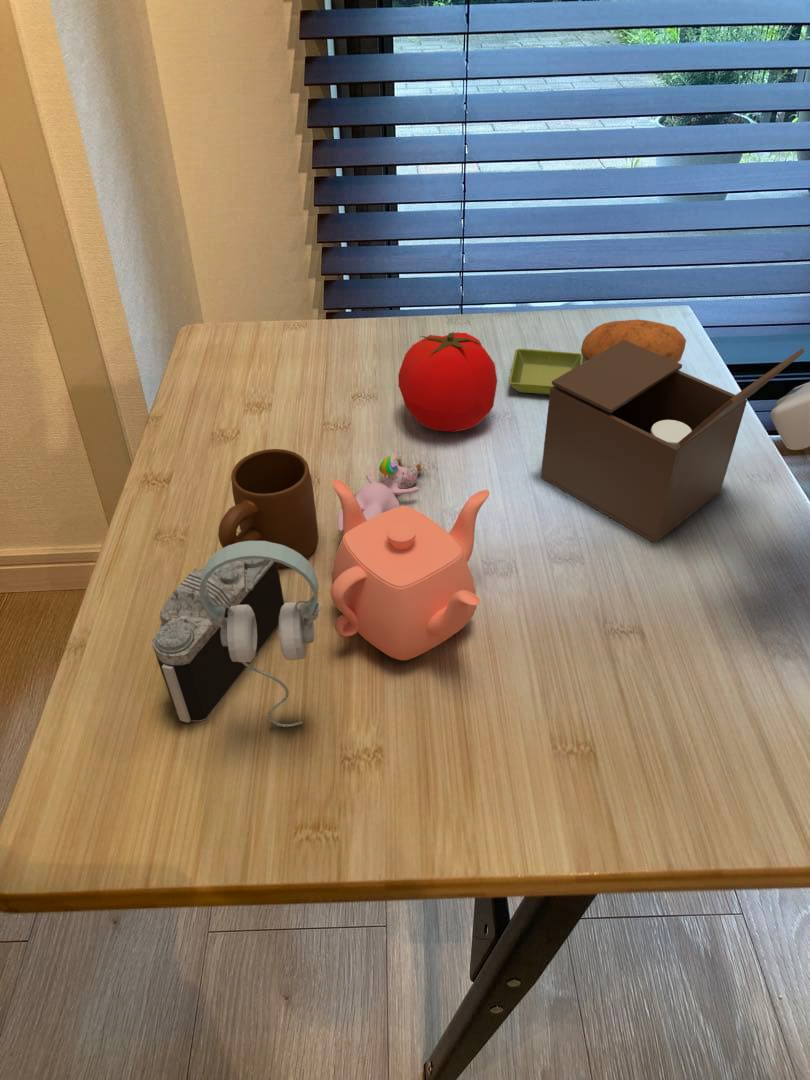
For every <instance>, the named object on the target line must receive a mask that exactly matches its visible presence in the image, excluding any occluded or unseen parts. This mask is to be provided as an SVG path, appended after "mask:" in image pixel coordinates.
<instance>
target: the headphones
mask: <svg viewBox="0 0 810 1080" xmlns="http://www.w3.org/2000/svg"><path fill="white" fill-rule="evenodd" d="M253 558H254V559H266V560H270V561H274V562H279V563H282V564H284V565H286V567H288V568H291V569H292V570H294V571H295V572H296V573H298V574H299V575H301V576H302V577H303V578H304V580H305V581H306V582H307V583H308V585H309V587H310V589H311V592H312V593H313V595H312V596H311V598H310V599H309V600H308V601H307V600H299V601H297V602H295V601H294V602H293V601H292V602H284V605H283V606H282V607H281V610H280V615H279V626H278V638H279V639H278V640H279V646H280V650H281V653H282V656H283V658H284V659H285V660H286V661H298V660H305V659H306V657H307V651H308V649H307V648H308V644H311V643H314V642H315V624H314V623H315V622H314V621H316V619H317V618H318V617H319V613H320V611H321V609H322V603H321V602H318V597H319V579H318V576H317V574H316V571H315V569H314V567H313V566H312V564H311V563H310V561H309V560H308V559H307V558H306V559H305V558H304V557H303V556H302V555H301V554H299V553H298V552H296V551H294V550H293V549H290V548H288V547H286V546H284V545H280V544H276V543H272V542H267V541H244V542H238V543H235V544H232V545H228V546H226V547H224V548H223V547H222V548H220V549H219V550H217V551H216V552H215V553H213V554H212V555H211V557H210V558H208V560H207V561H206V563H205V565H204V568H203V569H204V570H203V573H202V578H201V583H200V588H199V595H200V600H201V602H202V604H203V606H204V608H205V610H204V611H205V615H206V616H207V617H208V618H209V619H210V622H212V623H213V624H214V625H218V626H220V627H221V631H220V633H221V643H222V645H223V646H228V649H229V654H230V658H231V660H232V661H233V662H242V663H243V664H244V665H245V666H246V667H247V668H248V669H249V670H252V671H253V672H256V673H258V674H260V675H263V676H265V677H268V678H270V679H271V680H273V681H274V682H276V683H278V684H279V685H280V686H281V687H282V688H283V689H284V691H285V696H284V697H283V698H282V699H281V700H280V701H279V702H278V703H276V704H275V705H274V706H273V707H271V708H270V709H269V711H268V713H267V715H268V717H267V718H268V719H269V721H270V722H272V724H274V725H276V726H277V727H282V728H289V727H296V726H300V725H302V724H303V720H302V721H298V722H294V723H286V724H285V723H280V722H277V721H275V719H273V718H272V712H274V710H275V709H277V708H278V707H280V706H281V705H282V704H283V703H285V702H286V701H287V699H288V697H289V693H290V692H289V689H288V687H287V686H286V685H285V684H284V682H283V681H282V680H280V679H278V678H277V677H276V676H273V675H272V674H270V673H268V672H265V671H264V670H261V669H259V668H256V667H254V666H252V665H250V664H249V665H248V664H247V663H246V662H250V663H251V662H252V661H253V660H254V659H255V657H256V656H255V654H256V648H257V624H256V619H255V615H254V612H253V610H252V608H251V607H250V606H249V605H237V606H231V607H229V606H228V605H226V604H220V605H216V604H215V603H214V601H213V600H212V599H211V598H210V596H209V594H208V591H207V581H208V578H209V577H210V576H211V575H212V573H213V572H214V571H215V570H216V569H218V568H220V567H221V566H223V565H225V564H227V563H231V562H234V561H237V560H242V559H253ZM220 606H222V607H220ZM223 606H225V607H227V608H228V609H229V612H228V619H227V618H224V615H225V610H226V608H225V607H223ZM209 614H210V615H211V616H210V615H209ZM221 622H223V623H222V624H221ZM254 656H255V657H254ZM253 658H254V659H253Z"/></svg>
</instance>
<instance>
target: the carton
mask: <svg viewBox="0 0 810 1080" xmlns="http://www.w3.org/2000/svg"><path fill="white" fill-rule="evenodd" d="M682 368H683V364H682V363H679V362H678V363H677V362H675V361H672V360H670V359H668V358H665V357H663V356H661V355H658V354H656V353H654V352H651V351H649V350H647V349H644V348H642V347H640V346H637V345H635V344H633V343H630V342H628V341H626V340H623V341H621V342H619V343H617V344H616V345H614V346H612V347H610V348H609V349H607V350H605V351H603V352H602V353H600V354H598V355H596V356H595V357H593V358H591V359H590V360H586V361H583V362H582V364H581V365H579V366H577V367H576V368H574V369H572V370H570V371H569V372H567V373H565V374H563V375H562V376H560V377H558V378H557V379H555V380H553V381H552V385H554V386H553V387H551V388H550V395H549V396H548V407H547V416H546V423H545V436H544V443H543V453H542V463H541V470H540V471H541V472H540V478H541V479H543V480H544V481H546V482H548V483H549V484H551V485H553V486H554V487H556V488H558V489H560V490H561V491H563V492H565V493H567V494H568V495H571V496H572V497H574V498H576V499H577V500H579V501H581V502H583V503H584V504H586V505H588V506H589V507H591V508H593V509H595V510H596V511H598V512H600V513H602V514H603V515H605V516H607V517H608V518H609V519H612V520H614V521H616V522H617V523H619V524H620V525H622V526H625V527H626V528H628V529H630V530H631V531H633V532H634V533H637V534H638V535H640V536H642V537H644V538H645V539H647V540H648V541H650V542H652V543H654V544H656V543H657V542H659V541H660V540H661V539H662V538H664V537H665V536H666V535H667V534H668V533H670V532H671V531H673V530H674V529H675V528H676V527H678V526H679V525H680V524H681V523H682V522H684V521H685V520H686V519H688V518H689V517H690V516H691V515H692V514H694V513H695V512H696V511H698V510H699V509H700V508H701V507H703V506H704V505H705V504H707V503H708V502H709V501H710V500H711V499H713V498H714V497H715V496H716V495H718V494H719V493H720V492H721V491H722V488H723V484H724V481H725V477H726V474H727V471H728V467H729V464H730V461H731V457H732V453H733V450H734V447H735V444H736V440H737V436H738V433H739V430H740V426H741V423H742V419H743V416H744V413H745V410H746V406H747V403H748V399H746V400H744V401H743V402H742V403H740V404H739V405H737V406H736V407H735V408H733V409H732V410H730V411H729V412H728V413H726V414H725V415H723V416H722V417H721V418H719V419H718V420H716V421H715V422H714V423H712V424H711V425H709V426H708V427H707V428H705V429H704V430H702V431H701V432H700V433H698V434H697V435H696V436H694V437H693V438H691V439H690V440H689V441H687V442H686V443H684V444H683V445H682V446H680V444H678V445H677V446H674V445H672V444H670V443H668V442H666V441H664V440H662V439H660V438H658V437H656V436H654V435H652V434H650V432H651V428H652V426H653V425H654V424H655V423H656V422H659V421H662V420H676V421H679V422H682V423H684V424H686V425H687V426H689V427H690V428H691V430H692V431H693V430H694V429H695V428H696V427H697V426H698V425H700V424H701V423H702V422H703V421H704V420H706V419H707V418H708V417H709V416H710V415H712V414H713V413H714V412H715V411H716V410H718V409H719V408H720V407H721V406H722V405H724V404H725V403H726V402H727V401H728V400H730V399H731V398H732V397H734V396H735V395H736V394H734V393H732V392H729V391H728V390H725V389H723V388H721V387H718V386H716V385H713V384H712V383H709V382H706V381H704V380H702V379H701V378H700V379H699V378H698V377H695V376H693V375H690V374H688V373H686V372H683V371H681V369H682Z"/></svg>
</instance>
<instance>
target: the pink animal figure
mask: <svg viewBox="0 0 810 1080" xmlns="http://www.w3.org/2000/svg"><path fill="white" fill-rule="evenodd" d="M401 457H402V454H399V457H398V458H397V457H396V458H394V459H393V462H391V455H388V456H386V457H384V458H383V460H382V461H381V462H380V464H379V468H378V469H379V472H380V473H381V474H382V475H383V476H384V481H383V482H378V481H376V480H374V479H373V477H372V475H371V473H366V474H365V478H366V480H367V481H368V483H367V484H365V485H363V486H362V487H361V488H360V489H359V490H357V491H356V492H355V494H354V496H355V498H356V499H357V501H358V504H359V506H360V508H361V510H362V512H363V514H364V516H365V518H366V520H369V519H371V518H373V517H375V516H377V515H379V514H381V513H384V512H386V511H388V510H391V509H393V508H396V507H399V506H401V504H400V502H399V500H398V499H397V497H396V496H398V495H407V494H412V493H417V492H419V491H420V488H419V487H418V486H414V485H415V484H416V482H417V480H418V475H421V473H423V474H424V471H423V467H422V464H421V461H422V460H421V459H420V460H419V462H418V463H415V464H414V465H413V466H412V467H408V466H404V465H403V461H402V458H401ZM336 523H337V524H336V525H337V531H338V532H343V511H342V506H341V507H340V509H339V510H338V512H337V519H336Z"/></svg>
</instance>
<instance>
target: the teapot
mask: <svg viewBox="0 0 810 1080" xmlns="http://www.w3.org/2000/svg"><path fill="white" fill-rule="evenodd" d="M331 484H332V487H333V489H334V491H335V493H336V494H337V496H338V498H339V503H340V504H341V507H342V511H343V530H342V539H341V540H340V544H339V546H338V549H337V551H336V555H335V558H334V563H333V566H332V567H333V568H332V576H331V589H330V596H331V600H332V602H333V604H334V605H335V607H336V608H337V610H339V612H341V613H342V614H341V615H339V616H338V617H337V618H336V619H335V621H334V629H335V632H336V633H337V635H339V636H340V637H344V638H346V637H351V636H354V635H356V634H357V633H358V635H360V636H361V637H363V639H365V640H366V641H367V642H368V643H370V645H372V646H373V647H375V648H376V649H377V650H379V651H380V652H382V653H383V654H385V655H387V656H388V657H390V658H392V659H396V660H398V661H409V660H411V659H413V658H416V657H418V656H420V655H423V654H424V653H426V652H428V651H430V650H432V649H433V648H435V647H437V646H438V645H440V644H442V643H444V642H445V641H446V640H448V639H450V638H451V637H453V636H454V635H455V634H457V633H458V632H459V631H461V630H462V629H463V628H464V627H465V626H466V625H467V624H469V622H470V620H472V618H473V617H474V615H475V613H476V609H477V606H479V605H480V604H481V599H480V597H479V596H477V593H476V584H475V581H474V577H473V575H472V572H471V569H470V567H469V564H468V563H469V561H470V559H471V556H472V553H473V550H474V545H475V529H476V521H477V517H478V513H479V512H480V510H481V508H482V506H483V505H484V503H485V502H486V500H487V499H488V498H489V496H490V490H488V489H483V490H480V491H478V492H476V493H474V494H473V495H471V497H470V498H468V499H467V500H466V502H465V504H464V505H463V506H462V508H461V510H460V511H459V513H458V516H457V517H456V520H455V522H454V524H453V525H452V528H451V529H450V531H449V532H448V531H447V530H445V529H444V528H443V527H442V526H441V525H439V523H437V522H436V521H435V520H434V519H431V518H430V517H428V516H427V515H426V514H424V513H422V512H421V511H419V510H417V509H414V508H413V507H410V506H406V505H400V506H399V507H396V508H393V509H391V510H388V511H386V512H384V513H381V514H379V515H377V516H375V517H373V518H371V519H369V520H366V518H365V516H364V514H363V512H362V510H361V508H360V506H359V504H358V501H357V499H356V498H355V494H354V492H353V490H352V489H351V488H350V487H349V486H348V484H347V483H345V482H344V481H343V480H341V479H337V478H335V479H333V480H332V483H331Z"/></svg>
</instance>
